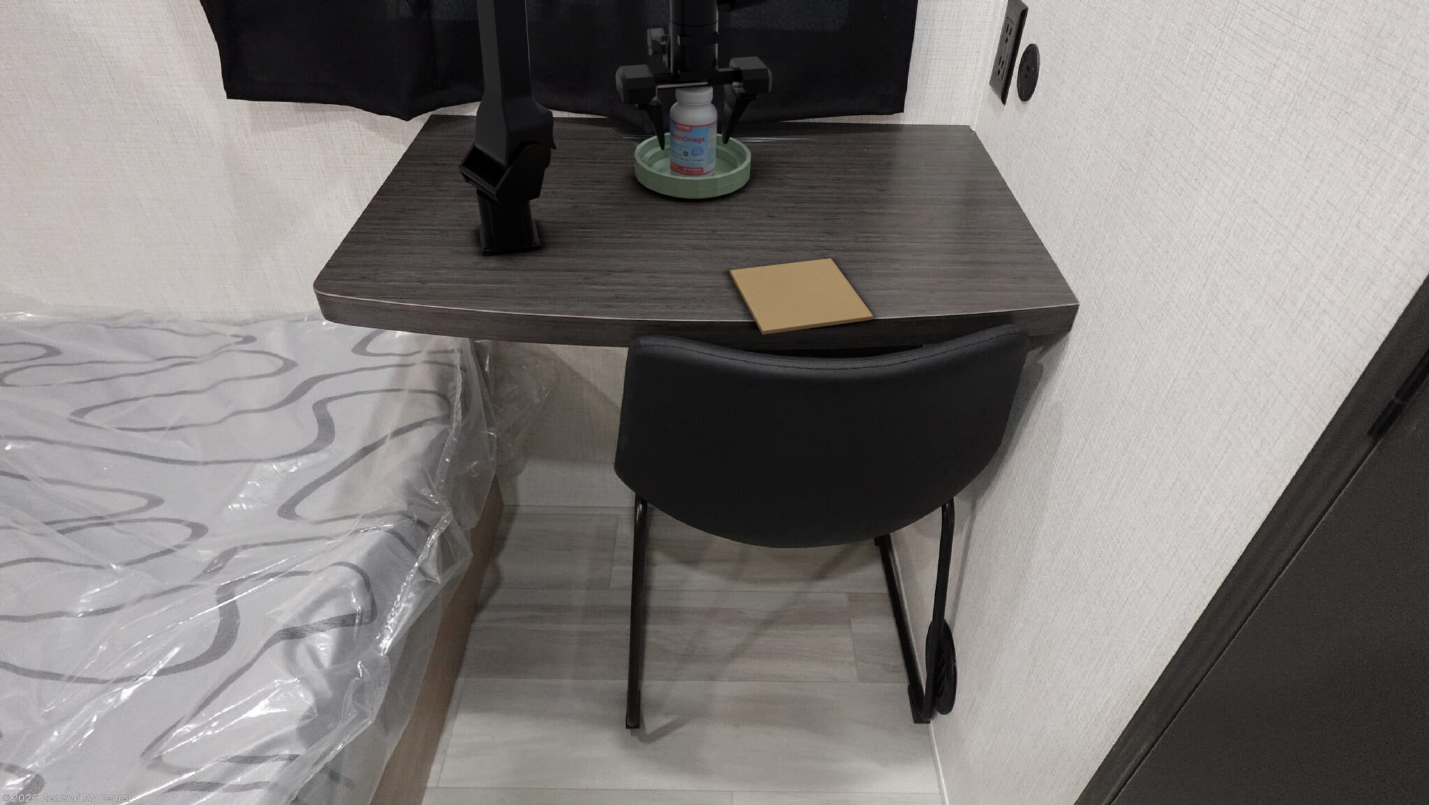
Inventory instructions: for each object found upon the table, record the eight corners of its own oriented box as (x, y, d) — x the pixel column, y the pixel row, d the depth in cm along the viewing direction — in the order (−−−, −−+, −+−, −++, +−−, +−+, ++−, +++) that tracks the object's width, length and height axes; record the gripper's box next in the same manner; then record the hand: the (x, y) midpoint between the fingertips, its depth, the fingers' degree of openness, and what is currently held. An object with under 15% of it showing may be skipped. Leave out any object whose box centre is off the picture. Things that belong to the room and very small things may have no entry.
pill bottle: (662, 176, 110) (661, 90, 103) (680, 159, 114) (681, 75, 107) (705, 185, 108) (707, 98, 101) (722, 167, 113) (725, 83, 106)
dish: (764, 196, 108) (765, 172, 106) (648, 207, 104) (647, 183, 102) (731, 148, 119) (732, 126, 117) (626, 157, 116) (625, 135, 114)
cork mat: (872, 319, 87) (873, 315, 86) (762, 334, 84) (762, 330, 84) (830, 261, 95) (831, 257, 95) (729, 273, 93) (729, 269, 93)
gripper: (749, -4, 107) (744, 116, 117) (604, 4, 103) (612, 128, 113) (777, 22, 99) (769, 149, 109) (620, 32, 95) (627, 162, 105)
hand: (693, 145), depth 109 cm, fingers closed on pill bottle, 8 cm apart
